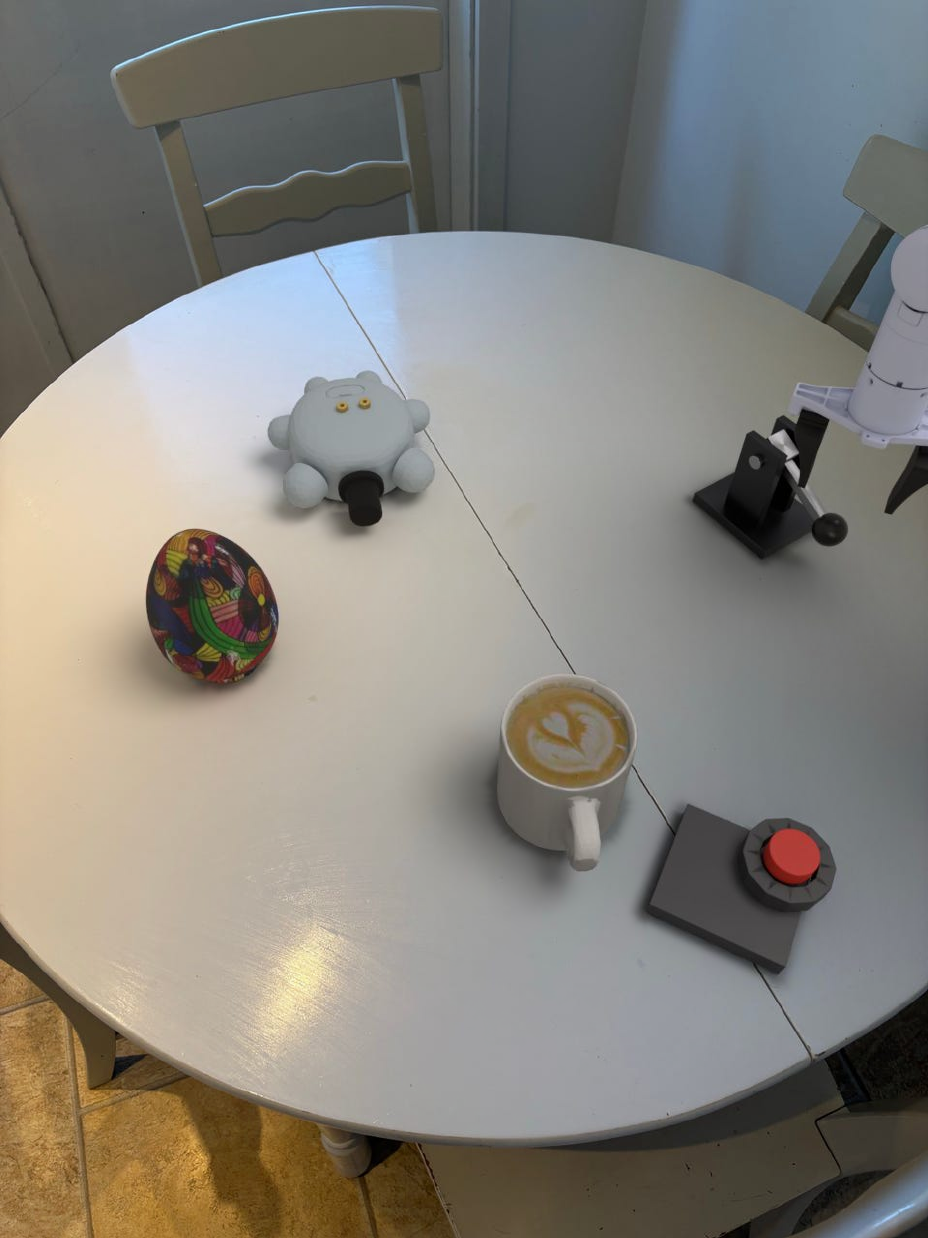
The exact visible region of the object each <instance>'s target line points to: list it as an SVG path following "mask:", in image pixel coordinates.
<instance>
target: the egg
mask: <svg viewBox="0 0 928 1238" xmlns="http://www.w3.org/2000/svg"><path fill="white" fill-rule="evenodd" d="M145 610H146V617H147V622H148V626H149V629H150V632H151V636H152V638H153V640H154V642H155V644H156V646H157V648H158V650H159V651H160V653H161V654H162V656H163V658H165V659H166V660H167V661H168V662H169V664H170V665H172V666H173V667H174V668H175V669H177V670H179V671H180V672H182V673H184V674H185V675H188V676H189V677H192V678H196V679H199V680H204V681H210V682H214V683H219V684H227V683H232V682H233V683H234V682H236V681H237V682H238V681H240V680H241V679H243V678H245V677H248V676H250V674H251V673H254V671H255V670H256V668H257V667H259V665H260V664H261V663H262V661H263V660H264V659H265V658H266V656H267V655H268V654H269V653H270V651H271V650H272V648H273V646H274V643H275V642H276V639H277V635H278V631H279V624H280V616H279V615H280V614H279V607H278V602H277V599H276V595H275V593H274V589H273V587H272V585H271V583H270V580H269V579H268V577H267V575H266V573H265V572H264V570H263V569H262V567H261V566H260V565H259V564H258V562H257V561H256V560H255V559H254V557H252V556H251V555H250V554H249V552H248V551H246V549H244V548H243V547H242V546H241V545H239V544H237V543H236V542H235V541H233V540H232V539H229V538H228V537H227V536H224V535H223V534H220V533H217V532H215V531H211V530H208V529H204V528H187V529H183V530H181V531H178V532H176V533H175V534H174V535H172V536H171V537H169V539H168V540H166V541H165V543H164V544H163V545H162V547H160V550H159V551H158V553H157V554H156V556H155V558H154V560H153V562H152V565H151V567H150V570H149V573H148V578H147V582H146V590H145Z"/></svg>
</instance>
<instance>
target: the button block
mask: <svg viewBox="0 0 928 1238" xmlns="http://www.w3.org/2000/svg"><path fill="white" fill-rule="evenodd" d="M783 829H795V830H799V831H801V832H803V833H805V834H807V835H808V836H809V837H810V838H812V840H813V841H814V842H815V843H816V845H817V847H818V849H819V852H820V863H819V866H818V867H817V869H816V870H815V871H814V873H813V874H812V875H811V877H810V878H809V879H808V880H807V881H805V882H803V883H801V884H796V885H792V884H786V883H783V882H781V881H779V880H777V879H776V878H775V877H773V876H772V875H771V874H770V872H769V871H768V870H767V868H766V866H765V863H764V859H763V853H764V850H765V847H766V846H767V844H768V842H769V841H770V839H771V838H772V836H773V835H774V834H775V833H776V832H778V831H780V830H783ZM836 872H837V865H836V863H835V859H834V857H833V854H832V851H831V848H830V846H829V844H828V843H827V842H826V841H825V840H824V839H823V838H822V836H820V835H819V834H818V833H817V831H815V829H814V828H813V827H811V826H810V825H809V826H808V825H807V824H804V823H801V822H799V821H797V820H794V819H792V818H789V817H781V818H780V817H779V818H766V819H764V820H762V821H761V822H759V823H758V824H757V825H755V826H754V827H753V828H751V829H749V828H747V827H744V826H743V825H740V824H737V823H735V822H732V821H731V820H728V819H725V818H724V817H721V816H718V815H716V814H714V813H711V812H709V811H707V810H704V809H701V808H699V807H698V806H695V805H692V804H690V803H687V804H686V807H685V809H684V811H683V814H682V816H681V819H680V822H679V824H678V827H677V830H676V831H675V835H674V837H673V840H672V843H671V844H670V848H669V851H668V853H667V855H666V857H665V861H664V864H663V865H662V869H661V871H660V874H659V877H658V879H657V882H656V884H655V887H654V890H653V892H652V895H651V898H650V901H649V903H648V905H647V908H646V911H645V912H646V913H647V914H649V915H651V916H654V917H656V918H657V919H660V920H662V921H664V922H666V923H668V924H671V925H672V926H675V927H677V928H680V929H681V930H683V931H685V932H687V933H689V934H692V935H694V936H696V937H698V938H700V939H702V940H705V941H707V942H709V943H711V944H713V945H714V946H717V947H718V948H719V947H720V948H722V949H724V950H726V951H728V952H730V953H733V954H734V955H737V956H739V957H741V958H743V959H745V960H747V961H750V962H752V963H753V964H756V965H758V966H759V967H760V966H761V967H763V968H765V969H766V970H768V971H771V972H773V973H775V974H777V975H780V974H781V973H782V972H783V970H784V969H785V968H786V967H787V964H788V959H789V957H790V952H791V948H792V945H793V942H794V938H795V935H796V932H797V927H798V924H799V919H800V915H801V912H807V911H809V910H811V908H813V907H814V906H816V905H817V904H818V903H819V902H821V901H822V900H823V899H825V897H826V896H827V895H828V894H829V893H830V892H831V890H832V888H833V884H834V881H835V877H836Z"/></svg>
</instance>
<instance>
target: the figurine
mask: <svg viewBox="0 0 928 1238" xmlns="http://www.w3.org/2000/svg"><path fill="white" fill-rule="evenodd" d="M303 393H304V394H303V395H302V396H301V397H300V398H299V399H298V401H297V402H296V403H295V405H294V407H293V408H292V410H291V413H290V414H285V415H280V416H277V417H274V418H272V419H271V421H270V422H269V423H268V427H267V437H268V440H269V442H270V444H271V445H272V446H273V447H275V448H276V449H279V450H281V451H289V452H290V454H291V458H292V462H293V464H292V466H291V467H290V468H289V470H287V471H286V473H285V475H284V476H283V479H282V491H283V494H284V497H285V499H286V500H287V501H288V503H290V504H291V505H293V506H294V507H297V508H300V509H309V508H313V507H315V506H317V505H319V504H320V503H321V502H322V501H323V499H324V498H327V499H330V500H333V501H340V502H344V503H345V504H346V505H347V510H348V517H349V521H350V522H351V523H352V524H353V525H355V526H357V527H362V528H364V527H366V528H367V527H371V526H374V525H376V524H378V523H379V522H380V521H381V520H382V518H383V508H382V503H381V502H382V501H381V498H382V496H384V495H386V494H387V493H390V492H391V491H393V490H394V489H395V488H397V487H398V488H399V489H401V490H402V491H404V492H407V493H411V494H413V493H414V494H415V493H421V492H423V491H426V490H427V489H428V488H429V487H430V486H431V484H432V483H433V481H434V479H435V476H436V475H435V474H436V468H435V464H434V461H433V460H432V458H431V457H430V456H429V455H428V454H427V453H426V452H424V451H423V450H421V448H420V449H419V448H418V447H415V434H418V433H420V432H422V431H424V430H425V429H426V428H427V427H428V426H429V424H430V421H431V411H430V407H429V406H428V405H427V403H426V402H424V401H423V400H421V399H417V398H416V399H415V398H410V399H409V398H408V399H403V397H401V395H400V394H399V393H398V392H397V391H395V390H394V389H393V388H391V387H389V386H388V385H386V384H384V383H383V381H382V379H381V377H380V376H379V374H378V373H376V372H375V371H373V370H369V369H367V370H364V371H363V370H362V371H361V372H359V373H357V375H356V377H345V378H339V379H334V380H328V379H326V377H322V376H313V377H311V378H310V379H308V380H307V381H306V383H305V386H304V388H303Z"/></svg>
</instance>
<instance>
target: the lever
mask: <svg viewBox="0 0 928 1238" xmlns="http://www.w3.org/2000/svg"><path fill="white" fill-rule="evenodd" d="M765 439H766V440H768V441H769V442H770V443H772V444H773V445H774V446H776V447H777V448H778V449H780V450H781V451H782V452H784V453H785V454H786V455H788V456H787V459H786V462H785V465H784V467H783V470H782V474H783V475H784V477H785V478H786V480H787V481H788V483H789V484H790V486H791V487H792V489H793V490H794V492H795V493H796V495H795V496H797V498H798V499H799V502H800V503H801V504H803V505H804V507H805V508H806V510H807V511H808V513H809V514H810V516H811V517H812V519H813V520H814V523H813V525H812V530H811V531H810V532H811V536H812V538H813V540H814V542H816V543H817V544H818V545H820V546H823V547H828V548H829V547H830V548H831V547H832V548H833V547H835V546H838V545H840V544H842V543H843V542H844V541H845V539H846V538H847V536H848V533H849V524H848V522H847V521H846V519H845V518H844V517H843V516H842V515H841V514H838V513H836V512H829V511H828V510H827V509H826V507H825V505H824V504H823V502H822V501H821V500H820V498H819V496H817V494H816V493H815V491H814V490H813V487H812V486H811V485H810V484H809V481H808V482H807V485H806V487H805V489H804V488H801V487H798V486H797V485H798V482H799V476H800V470H799V469H798V467H797V466H796V464H795V463H794V461H793V460H792V459H793V458H795V457H796V456H797V455H798V454H799V451H798V449H797V448H796V446H795V445H794V443H793V442H792V440H791V439H790V437H789V436H788V435H787V433H786V432H785V430H784V429H783V430H781V431H779V432H777V433H775V434H773V435H771V434H770V435H769V436H767V437H766V438H765Z"/></svg>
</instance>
